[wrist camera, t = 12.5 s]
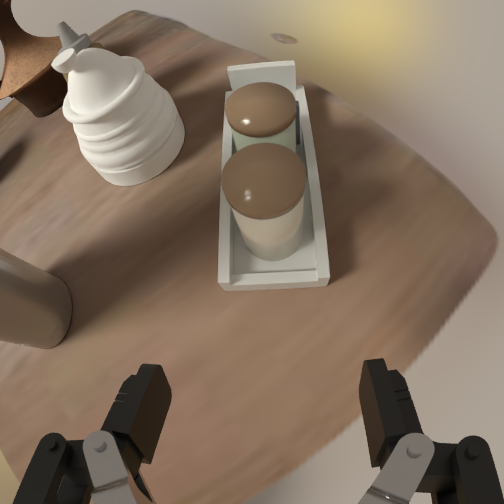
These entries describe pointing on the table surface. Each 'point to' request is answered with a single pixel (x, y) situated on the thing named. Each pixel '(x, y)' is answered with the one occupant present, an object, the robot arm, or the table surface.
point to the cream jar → (266, 198)
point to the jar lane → (313, 228)
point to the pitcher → (30, 67)
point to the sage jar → (262, 115)
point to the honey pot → (119, 115)
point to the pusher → (297, 123)
